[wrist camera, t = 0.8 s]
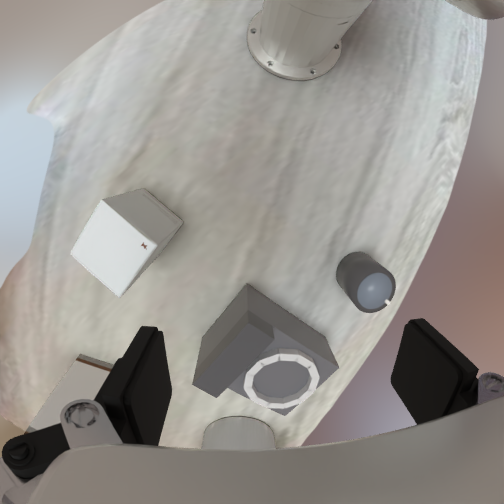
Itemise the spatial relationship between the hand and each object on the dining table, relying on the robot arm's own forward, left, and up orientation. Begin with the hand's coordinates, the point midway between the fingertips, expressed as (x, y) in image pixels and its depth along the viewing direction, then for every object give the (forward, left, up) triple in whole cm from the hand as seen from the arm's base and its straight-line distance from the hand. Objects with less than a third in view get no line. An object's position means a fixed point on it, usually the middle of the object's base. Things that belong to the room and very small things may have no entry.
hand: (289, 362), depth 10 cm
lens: (-3, +16, -29) cm, 33 cm away
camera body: (+13, +12, -29) cm, 34 cm away
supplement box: (+9, -11, -30) cm, 33 cm away
